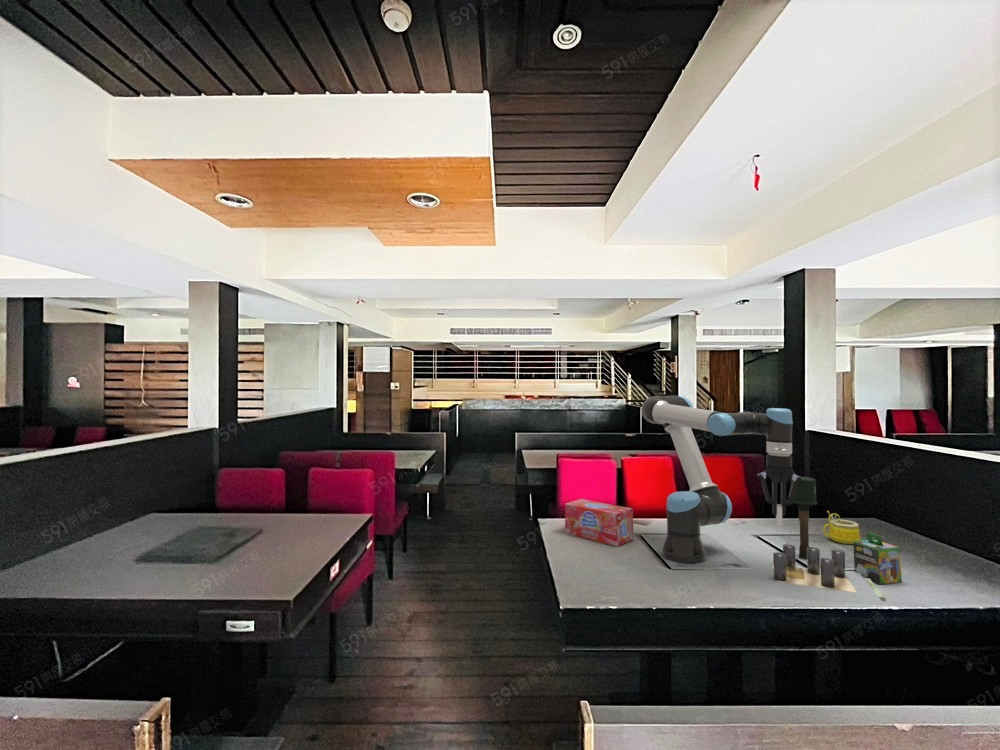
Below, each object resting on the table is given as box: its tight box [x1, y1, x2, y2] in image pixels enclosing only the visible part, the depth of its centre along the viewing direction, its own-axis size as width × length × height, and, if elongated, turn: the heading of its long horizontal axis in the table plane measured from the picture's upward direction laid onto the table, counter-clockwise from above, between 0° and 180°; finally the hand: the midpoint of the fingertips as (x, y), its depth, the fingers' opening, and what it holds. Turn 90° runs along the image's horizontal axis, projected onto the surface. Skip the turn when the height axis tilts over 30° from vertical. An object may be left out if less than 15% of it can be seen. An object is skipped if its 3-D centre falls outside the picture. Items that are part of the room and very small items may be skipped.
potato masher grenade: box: [790, 476, 818, 560], centre depth 180 cm, size 8×9×30 cm
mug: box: [822, 510, 862, 545], centre depth 203 cm, size 13×11×12 cm
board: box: [771, 564, 887, 602], centre depth 158 cm, size 28×16×1 cm, turn 66°
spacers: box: [772, 544, 846, 589], centre depth 159 cm, size 22×15×8 cm
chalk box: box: [852, 532, 903, 586], centre depth 162 cm, size 9×9×15 cm
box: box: [564, 498, 634, 547], centre depth 209 cm, size 27×13×14 cm, turn 44°
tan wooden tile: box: [787, 567, 805, 579], centre depth 161 cm, size 4×4×2 cm
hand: (778, 524), depth 164 cm, fingers closed
